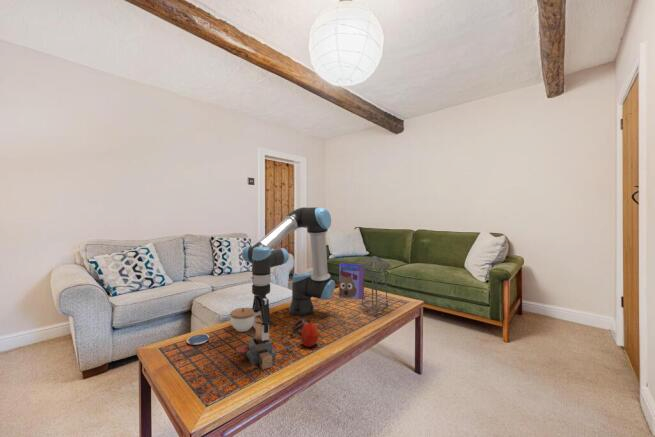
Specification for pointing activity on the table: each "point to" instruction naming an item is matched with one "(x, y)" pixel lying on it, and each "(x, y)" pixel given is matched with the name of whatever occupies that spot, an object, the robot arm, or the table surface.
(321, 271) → the robot arm
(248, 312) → the lidded bowl
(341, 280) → the cereal box
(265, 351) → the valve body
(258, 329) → the pipe fitting
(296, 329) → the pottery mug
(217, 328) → the table surface
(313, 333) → the apple
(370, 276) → the geometric lantern
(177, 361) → the table surface
